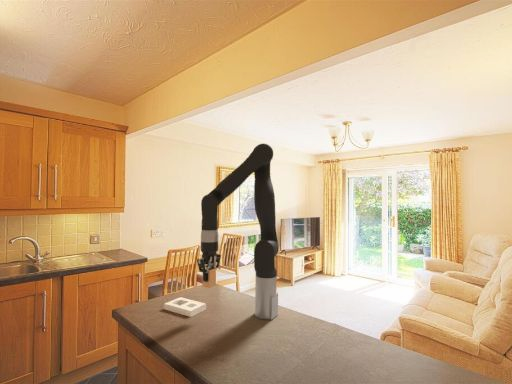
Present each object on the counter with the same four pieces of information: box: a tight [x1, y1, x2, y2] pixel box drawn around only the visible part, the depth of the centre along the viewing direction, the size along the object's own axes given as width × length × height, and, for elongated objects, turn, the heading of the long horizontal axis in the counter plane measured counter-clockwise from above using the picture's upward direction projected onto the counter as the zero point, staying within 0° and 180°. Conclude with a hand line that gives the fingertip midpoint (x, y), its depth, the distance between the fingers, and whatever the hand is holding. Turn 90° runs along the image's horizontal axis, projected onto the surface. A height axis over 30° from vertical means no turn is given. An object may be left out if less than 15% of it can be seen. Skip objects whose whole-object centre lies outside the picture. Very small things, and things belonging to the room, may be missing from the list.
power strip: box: [163, 296, 207, 318], centre depth 127 cm, size 16×10×3 cm, turn 60°
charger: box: [202, 265, 217, 289], centre depth 121 cm, size 4×4×9 cm
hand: (209, 280), depth 120 cm, fingers closed on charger, 4 cm apart
